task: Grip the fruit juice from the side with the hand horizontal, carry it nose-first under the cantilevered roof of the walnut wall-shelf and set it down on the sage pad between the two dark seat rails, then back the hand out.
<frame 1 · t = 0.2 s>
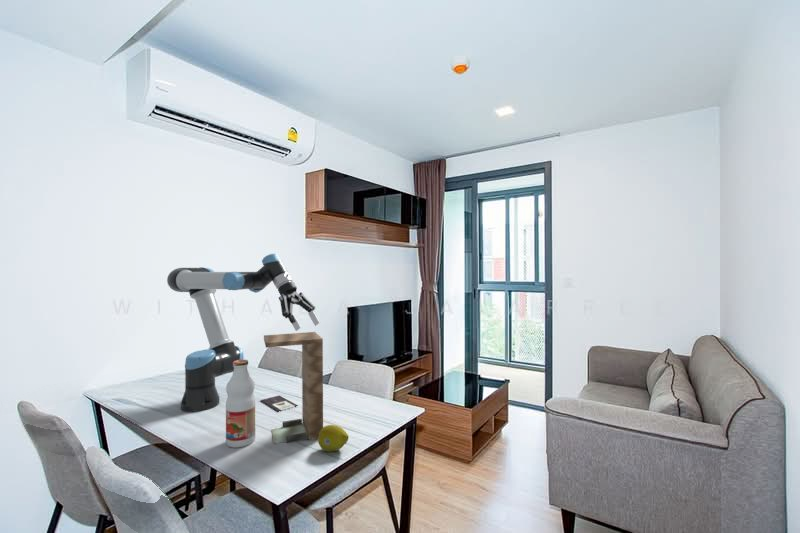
hand: (308, 326, 160), 35 cm above the table, tool tilted 35°, fingers open, 13 cm apart
lemon: (332, 451, 123), on the table
fruit juice: (240, 442, 129), on the table
shelf: (290, 433, 136), on the table
chocolate bar: (278, 405, 166), on the table
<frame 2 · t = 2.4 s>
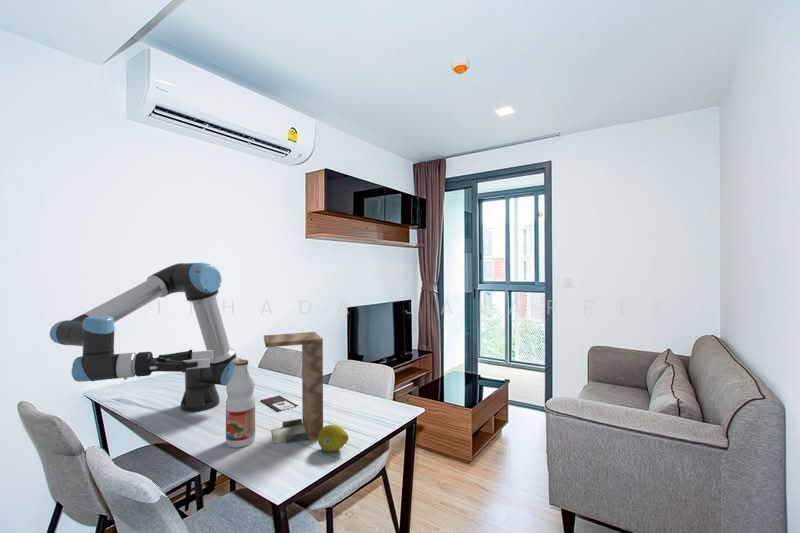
hand: (211, 358, 126), 30 cm above the table, tool horizontal, fingers open, 13 cm apart
nothing on the table moved.
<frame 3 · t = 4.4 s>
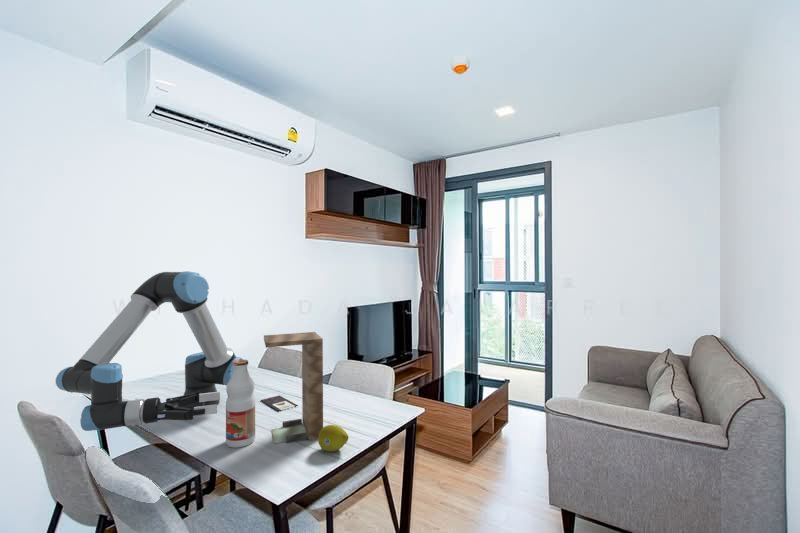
hand: (218, 401, 126), 15 cm above the table, tool horizontal, fingers open, 13 cm apart
nothing on the table moved.
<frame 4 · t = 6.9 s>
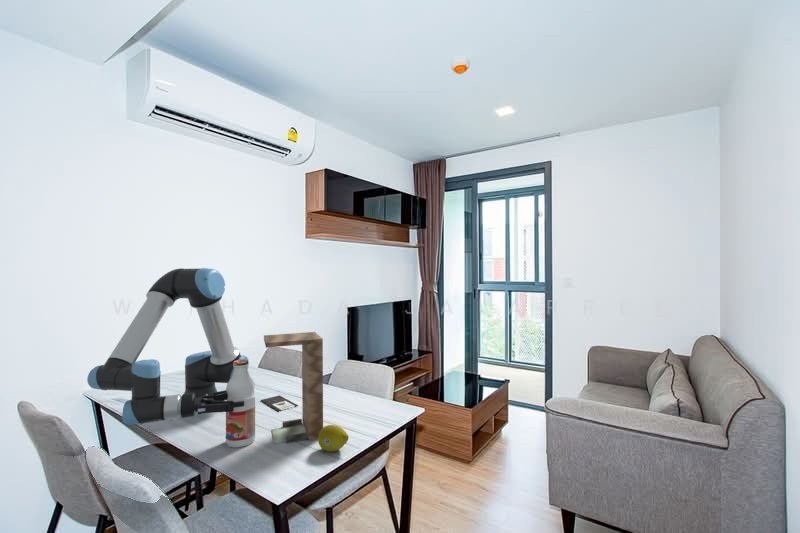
hand: (254, 396, 131), 15 cm above the table, tool horizontal, fingers closed on fruit juice, 9 cm apart
fruit juice: (240, 442, 129), on the table, touching gripper
everything else where it was.
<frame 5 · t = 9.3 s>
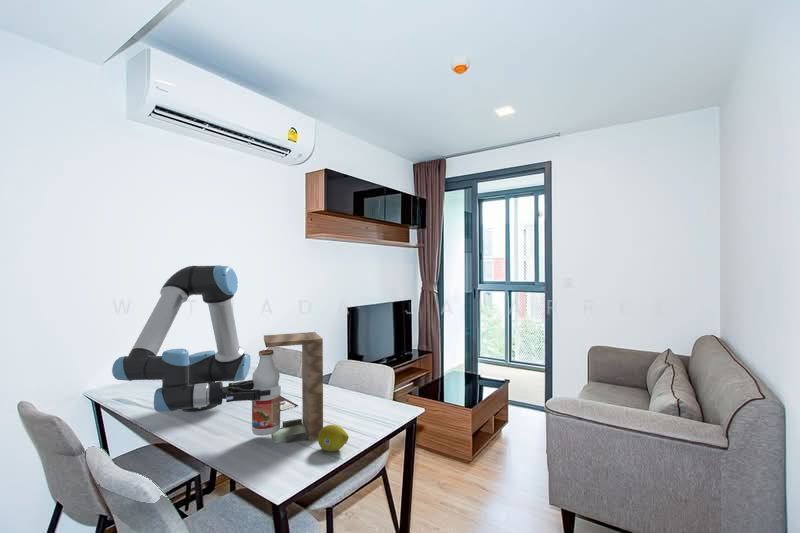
hand: (279, 386, 133), 18 cm above the table, tool horizontal, fingers closed on fruit juice, 9 cm apart
fruit juice: (266, 431, 132), point 3 cm above the table, touching gripper
everything else where it was.
when the fingers open (16 cm above the table, at t = 11.7 s): fruit juice stays where it is, resting on shelf.
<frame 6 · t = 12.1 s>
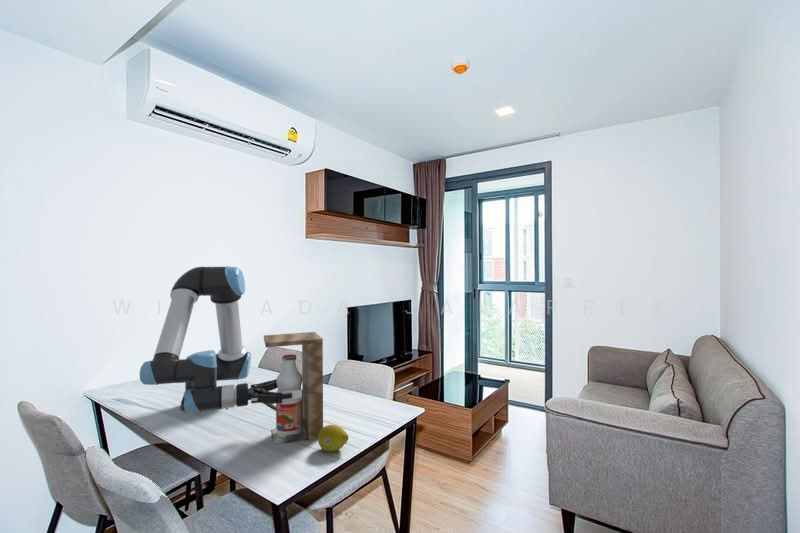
hand: (299, 387, 137), 16 cm above the table, tool horizontal, fingers open, 13 cm apart
fruit juice: (289, 433, 136), resting on shelf
everything else where it was.
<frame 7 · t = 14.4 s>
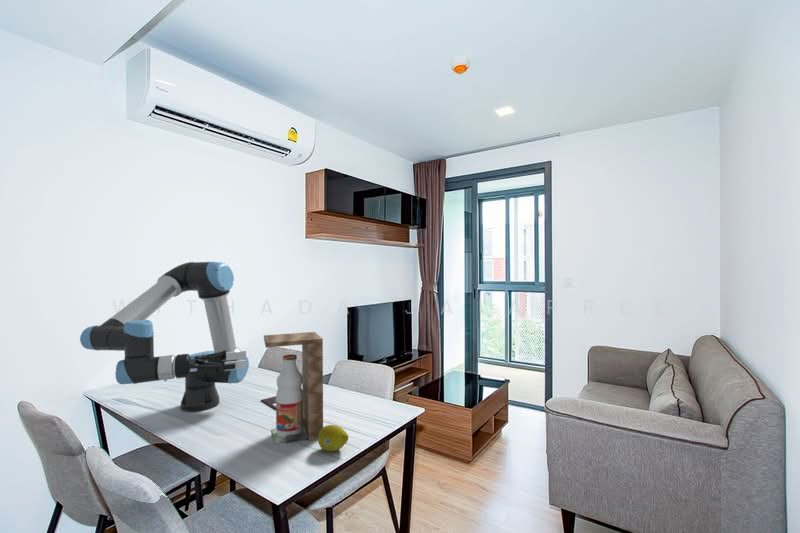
hand: (246, 359, 130), 29 cm above the table, tool horizontal, fingers open, 13 cm apart
nothing on the table moved.
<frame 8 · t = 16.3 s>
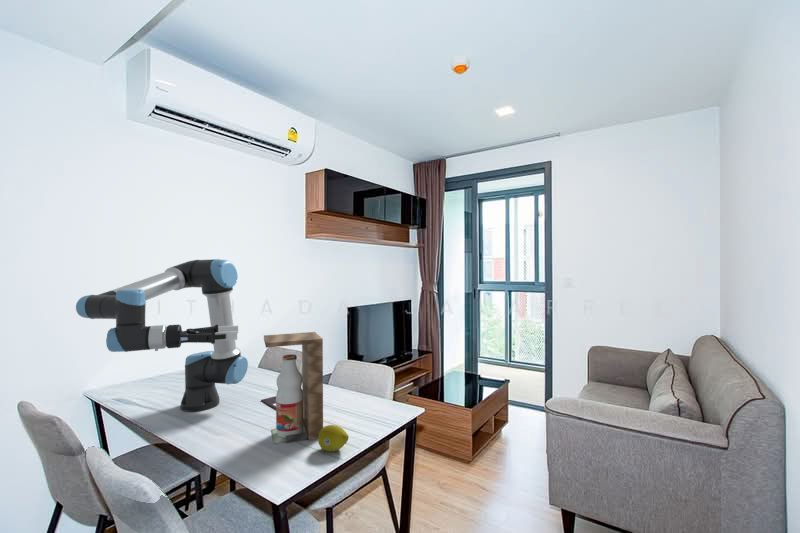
hand: (237, 332, 130), 38 cm above the table, tool horizontal, fingers open, 13 cm apart
nothing on the table moved.
at the end: fruit juice inside the target area on the shelf (0.2 cm from its centre), point 0.0 cm above the shelf's base; fruit juice tilted 0°; the gripper is holding nothing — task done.
